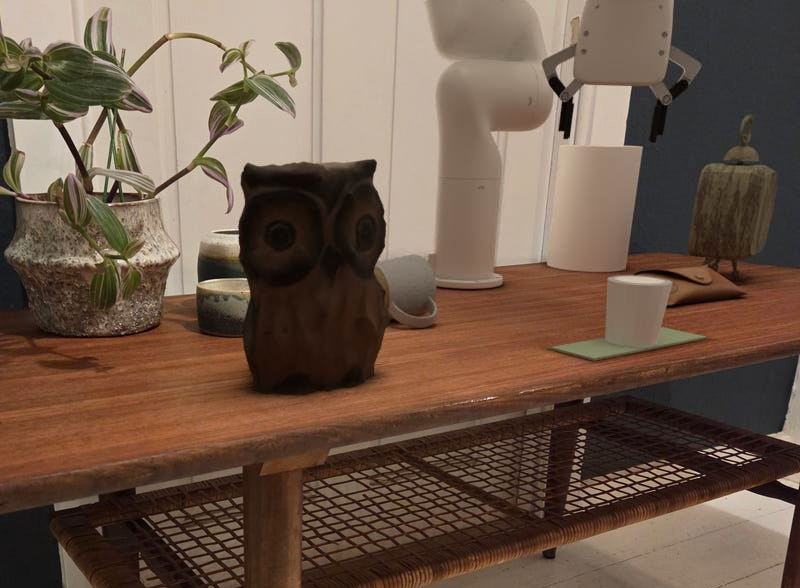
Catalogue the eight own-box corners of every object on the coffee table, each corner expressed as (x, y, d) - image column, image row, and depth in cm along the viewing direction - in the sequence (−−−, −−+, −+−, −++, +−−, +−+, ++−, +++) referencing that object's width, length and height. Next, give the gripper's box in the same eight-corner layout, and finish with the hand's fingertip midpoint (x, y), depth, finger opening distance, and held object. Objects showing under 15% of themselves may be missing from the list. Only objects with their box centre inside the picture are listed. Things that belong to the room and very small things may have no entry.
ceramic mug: (348, 316, 113) (350, 255, 110) (398, 309, 117) (401, 250, 114) (401, 333, 105) (405, 267, 102) (452, 325, 109) (457, 262, 106)
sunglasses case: (672, 304, 120) (658, 258, 121) (633, 322, 126) (619, 278, 127) (752, 294, 129) (738, 251, 130) (711, 311, 135) (698, 270, 136)
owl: (390, 372, 87) (399, 158, 80) (347, 407, 77) (353, 163, 69) (274, 359, 92) (272, 155, 84) (217, 390, 81) (210, 159, 73)
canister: (629, 263, 160) (646, 146, 152) (620, 274, 148) (638, 147, 141) (554, 258, 165) (567, 144, 157) (540, 268, 153) (553, 145, 146)
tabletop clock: (704, 271, 153) (731, 115, 144) (760, 276, 148) (792, 115, 139) (681, 281, 142) (709, 113, 133) (741, 287, 137) (774, 114, 128)
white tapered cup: (631, 350, 96) (640, 286, 94) (586, 337, 102) (594, 276, 99) (676, 344, 99) (686, 281, 96) (630, 332, 105) (639, 272, 102)
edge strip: (593, 361, 93) (593, 358, 93) (550, 349, 98) (550, 346, 97) (706, 338, 103) (706, 336, 103) (662, 329, 108) (662, 327, 108)
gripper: (713, -23, 98) (683, 142, 105) (553, -23, 102) (535, 136, 109) (722, -32, 91) (690, 145, 98) (551, -31, 95) (531, 138, 102)
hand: (608, 140), depth 103 cm, fingers open, 9 cm apart
